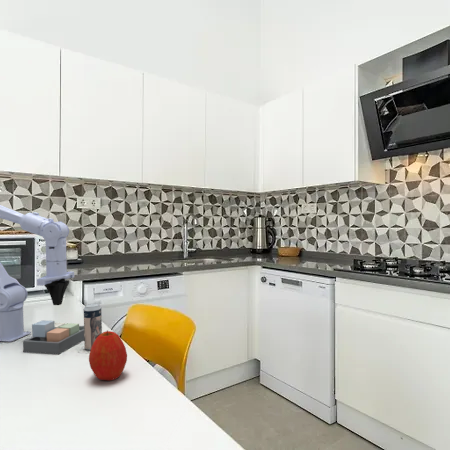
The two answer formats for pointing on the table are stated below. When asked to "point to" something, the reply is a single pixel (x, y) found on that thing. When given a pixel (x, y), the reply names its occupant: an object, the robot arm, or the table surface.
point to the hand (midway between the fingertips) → (57, 304)
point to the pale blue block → (42, 328)
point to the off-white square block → (58, 325)
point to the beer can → (92, 324)
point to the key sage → (71, 328)
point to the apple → (108, 356)
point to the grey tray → (52, 343)
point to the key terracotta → (57, 334)
